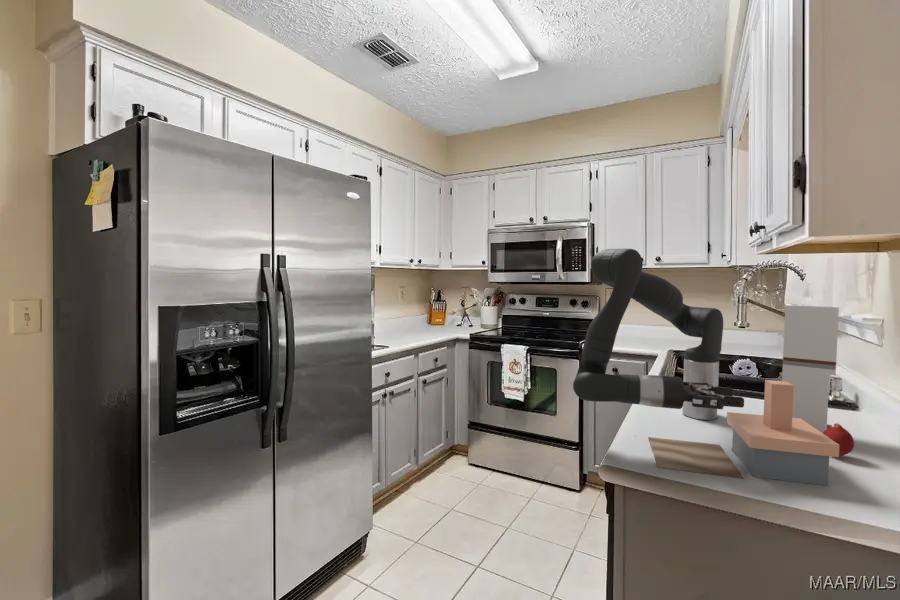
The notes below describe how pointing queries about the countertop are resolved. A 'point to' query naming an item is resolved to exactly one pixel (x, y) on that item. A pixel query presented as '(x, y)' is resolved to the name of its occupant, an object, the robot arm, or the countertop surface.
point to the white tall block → (810, 359)
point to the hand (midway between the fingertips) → (737, 397)
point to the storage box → (782, 463)
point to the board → (693, 457)
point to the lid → (781, 425)
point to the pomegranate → (840, 438)
